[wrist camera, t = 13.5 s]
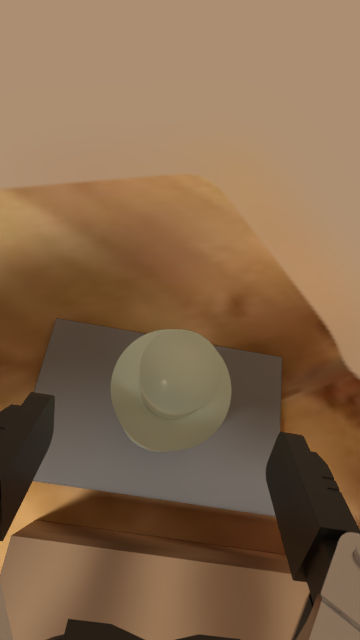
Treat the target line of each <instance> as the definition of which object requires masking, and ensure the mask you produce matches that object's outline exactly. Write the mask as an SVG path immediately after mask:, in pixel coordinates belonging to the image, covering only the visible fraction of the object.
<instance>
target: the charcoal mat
mask: <svg viewBox="0 0 360 640" xmlns="http://www.w3.org/2000/svg"><path fill="white" fill-rule="evenodd" d="M143 335H145V333H139V332H134V331H128V330H122V329H116V328H110V327H105V326H99V325H93V324H87V323H81V322H76V321H70V320H64V319H58V318H56V321H55V324H54V328H53V331H52V334H51V338H50V341H49V344H48V347H47V351H46V354H45V357H44V361H43V364H42V367H41V370H40V374H39V377H38V380H37V384H36V387H35V390H34V392H36V393H42V394H48V395H54V396H55V412H54V431H53V436H52V440H51V444H50V446H49V449H48V451H47V453H46V455H45V457H44V459H43V461H42V463H41V465H40V467H39V469H38V471H37V473H36V475H35V477H34V479H33V481H37V482H44V483H50V484H57V485H64V486H71V487H78V488H85V489H91V490H98V491H105V492H112V493H119V494H126V495H132V496H139V497H146V498H153V499H160V500H167V501H173V502H180V503H187V504H194V505H201V506H208V507H215V508H221V509H228V510H235V511H242V512H249V513H256V514H262V515H269V516H275V512H274V508H273V504H272V501H271V497H270V493H269V489H268V486H267V482H266V466H267V462H268V459H269V457H270V454H271V452H272V449H273V446H274V444H275V441H276V439H277V436H278V434H279V433H280V418H281V382H282V357H278V356H272V355H267V354H261V353H255V352H249V351H244V350H238V349H232V348H226V347H220V346H215V345H213V346H214V347H215V349H216V351H217V352H218V353H219V354H220V356H221V357H222V359H223V360H224V362H225V364H226V367H227V369H228V372H229V376H230V380H231V401H230V406H229V409H228V412H227V415H226V417H225V419H224V421H223V422H222V424H221V426H220V427H219V428H218V429H217V431H216V432H215V433H214V434H213V435H212V436H210V437H209V438H208V439H207V440H205V441H204V442H202V443H200V444H198V445H196V446H194V447H191V448H188V449H184V450H178V451H169V452H150V451H146V450H144V449H141V448H140V447H138V446H136V445H135V444H134V443H133V442H132V441H131V440H130V439H129V438H128V436H127V435H126V433H125V431H124V429H123V427H122V425H121V424H120V422H119V420H118V418H117V416H116V413H115V411H114V408H113V404H112V400H111V379H112V374H113V371H114V368H115V365H116V363H117V361H118V359H119V358H120V356H121V354H122V353H123V352H124V351H125V349H126V348H127V347H128V346H129V345H130V344H131V343H132V342H134V341H135V340H137V339H138V338H140V337H141V336H143Z"/></svg>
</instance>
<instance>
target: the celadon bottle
mask: <svg viewBox="0 0 360 640" xmlns="http://www.w3.org/2000/svg"><path fill="white" fill-rule="evenodd" d="M111 400H112V404H113V408H114V411H115V413H116V416H117V418H118V420H119V422H120V424H121V425H122V427H123V429H124V431H125V433H126V435H127V436H128V438H129V439H130V440H131V441H132V442H133V443H134V444H135V445H136V446H138V447H140V448H141V449H144V450H146V451H150V452H169V451H178V450H184V449H188V448H191V447H194V446H196V445H198V444H200V443H202V442H204V441H205V440H207V439H208V438H209V437H210V436H212V435H213V434H214V433H215V432H216V431H217V429H218V428H219V427H220V426H221V424H222V422H223V421H224V419H225V417H226V415H227V412H228V409H229V406H230V401H231V380H230V376H229V372H228V369H227V367H226V364H225V362H224V360H223V359H222V357H221V356H220V354H219V353H218V352H217V351H216V349H215V347H214V346H213V345H212V344H211V343H210V341H208V340H207V339H206V338H205V337H203V336H202V335H200V334H198V333H196V332H193V331H190V330H184V329H163V330H157V331H153V332H150V333H148V334H145V335H143V336H141V337H140V338H138V339H137V340H135V341H134V342H132V343H131V344H130V345H129V346H128V347H127V348H126V349H125V351H124V352H123V353H122V354H121V356H120V358H119V359H118V361H117V363H116V365H115V368H114V371H113V374H112V379H111Z"/></svg>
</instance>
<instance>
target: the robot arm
mask: <svg viewBox="0 0 360 640" xmlns="http://www.w3.org/2000/svg"><path fill="white" fill-rule="evenodd" d="M54 412H55V396H54V395H48V394H42V393H36V392H31V393H30V394H29V395H28V397H27V398H26V400H25V401H24V403H23V404H22V405H21V406H18V405H10V406H9V407H7V408H5V409H4V410H2V411H1V412H0V541H3V540H4V538H5V536H6V533H7V531H8V529H9V527H10V525H11V523H12V521H13V519H14V517H15V515H16V513H17V511H18V509H19V507H20V505H21V503H22V501H23V499H24V497H25V495H26V493H27V491H28V489H29V487H30V485H31V483H32V481H33V479H34V477H35V475H36V473H37V471H38V469H39V467H40V465H41V463H42V461H43V459H44V457H45V455H46V453H47V451H48V449H49V446H50V444H51V440H52V436H53V431H54ZM266 482H267V486H268V489H269V493H270V497H271V501H272V504H273V508H274V512H275V516H276V519H277V523H278V527H279V531H280V534H281V538H282V542H283V545H284V549H285V553H286V557H287V560H288V564H289V568H290V572H291V575H292V579H293V581H300V582H307V584H308V588H309V591H310V592H309V594H308V596H307V598H306V600H305V603H304V606H303V608H302V611H301V614H300V616H299V619H298V621H297V624H296V627H295V629H294V632H293V635H292V637H291V640H360V530H359V528H358V526H357V524H356V522H355V520H354V518H353V516H352V514H351V512H350V510H349V508H348V506H347V504H346V502H345V500H344V498H343V496H342V494H341V492H339V487H338V485H337V483H336V481H334V477H333V475H332V473H331V471H330V469H329V467H328V465H327V464H326V463H325V462H324V461H323V460H322V458H321V457H320V456H319V455H318V454H317V453H316V452H310V449H309V447H308V445H307V443H306V441H305V439H304V437H303V436H302V435H297V434H291V433H285V432H280V433H279V434H278V436H277V439H276V441H275V444H274V446H273V449H272V452H271V454H270V457H269V459H268V462H267V466H266ZM0 640H13V636H12V632H11V628H10V623H9V619H8V614H7V610H6V606H5V601H4V597H3V592H2V588H1V584H0ZM46 640H145V639H142V638H140V637H138V636H136V635H134V634H132V633H130V632H128V631H125V630H123V629H121V628H119V627H117V626H115V625H113V624H108V623H100V622H91V621H83V620H74V619H68V621H67V625H66V629H65V633H64V634H62V635H58V636H54V637H51V638H49V639H46ZM176 640H240V639H235V638H226V637H218V636H210V635H201V634H198V635H193V636H189V637H185V638H180V639H176Z"/></svg>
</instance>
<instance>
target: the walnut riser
mask: <svg viewBox="0 0 360 640" xmlns="http://www.w3.org/2000/svg"><path fill="white" fill-rule="evenodd" d="M0 584H1V588H2V592H3V597H4V601H5V606H6V610H7V614H8V619H9V623H10V628H11V632H12V636H13V640H46V639H49V638H51V637H54V636H58V635H62V634H64V633H65V629H66V625H67V621H68V619H74V620H83V621H91V622H100V623H108V624H113V625H115V626H117V627H119V628H121V629H123V630H125V631H128V632H130V633H132V634H134V635H136V636H138V637H140V638H142V639H145V640H176V639H180V638H185V637H189V636H193V635H198V634H201V635H210V636H218V637H226V638H235V639H240V640H291V637H292V635H293V632H294V629H295V627H296V624H297V621H298V619H299V616H300V614H301V611H302V608H303V606H304V603H305V600H306V598H307V596H308V594H309V592H310V591H309V588H308V584H307V582H300V581H293V579H292V575H291V572H290V568H289V564H288V560H287V557H286V555H282V554H275V553H268V552H261V551H254V550H246V549H239V548H232V547H225V546H218V545H211V544H204V543H196V542H189V541H182V540H175V539H168V538H161V537H154V536H146V535H139V534H132V533H125V532H118V531H111V530H104V529H97V528H89V527H82V526H75V525H68V524H61V523H54V522H47V521H39V520H35V521H33V522H32V523H30V524H29V525H27V526H25V527H24V528H22V529H21V530H19V531H18V532H16V533H15V534H13V535H12V536H11V539H10V542H9V546H8V549H7V553H6V556H5V560H4V563H3V567H2V570H1V574H0Z"/></svg>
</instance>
